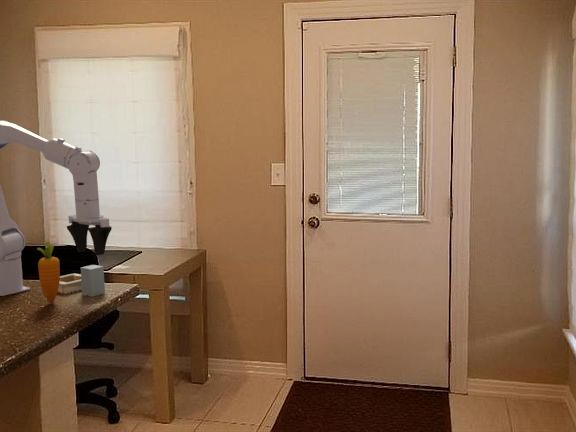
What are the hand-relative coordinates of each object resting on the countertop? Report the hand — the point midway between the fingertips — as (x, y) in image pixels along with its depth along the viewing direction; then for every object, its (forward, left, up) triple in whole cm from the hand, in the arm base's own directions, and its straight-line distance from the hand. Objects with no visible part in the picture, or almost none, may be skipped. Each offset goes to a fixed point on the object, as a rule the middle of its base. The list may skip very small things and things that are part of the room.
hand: (90, 253), depth 164 cm
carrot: (-1, -11, -11) cm, 16 cm away
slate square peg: (0, 0, -11) cm, 11 cm away
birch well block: (-10, 0, -11) cm, 15 cm away
